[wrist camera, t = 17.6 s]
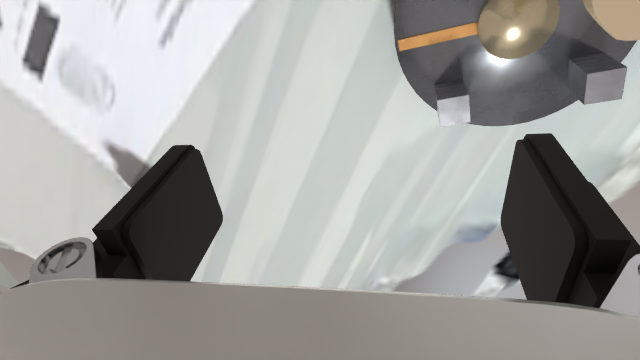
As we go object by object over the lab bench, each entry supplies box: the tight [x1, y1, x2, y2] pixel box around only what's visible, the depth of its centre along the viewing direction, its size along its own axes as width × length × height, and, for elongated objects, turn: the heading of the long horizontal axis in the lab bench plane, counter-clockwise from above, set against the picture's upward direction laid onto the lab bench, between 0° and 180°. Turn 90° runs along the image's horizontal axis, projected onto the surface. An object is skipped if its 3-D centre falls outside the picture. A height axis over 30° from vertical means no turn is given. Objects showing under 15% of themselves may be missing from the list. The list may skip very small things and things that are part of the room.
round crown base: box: [394, 0, 637, 127], centre depth 31 cm, size 20×20×7 cm
